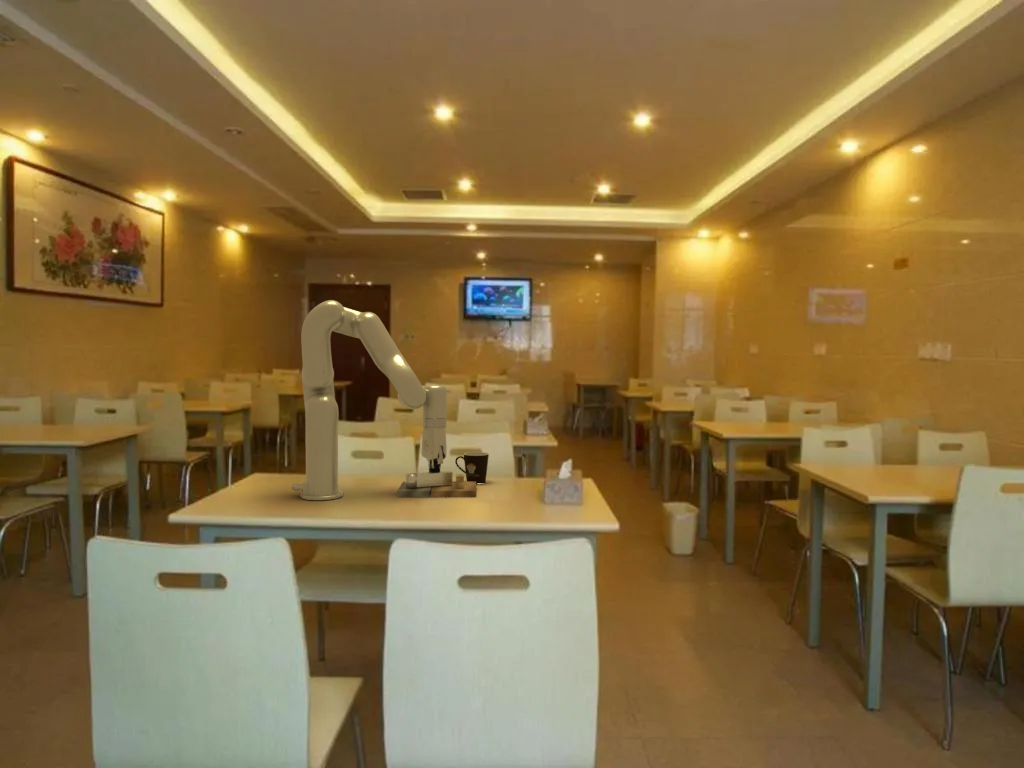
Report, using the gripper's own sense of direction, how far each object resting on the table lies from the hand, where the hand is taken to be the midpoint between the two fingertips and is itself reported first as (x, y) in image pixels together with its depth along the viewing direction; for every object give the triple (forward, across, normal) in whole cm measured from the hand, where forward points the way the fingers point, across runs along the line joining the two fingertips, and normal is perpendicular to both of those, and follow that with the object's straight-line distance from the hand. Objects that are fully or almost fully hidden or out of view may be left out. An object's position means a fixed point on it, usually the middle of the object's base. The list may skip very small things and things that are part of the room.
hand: (434, 480), depth 221 cm
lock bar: (+1, +3, -3) cm, 5 cm away
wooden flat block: (+3, +3, 0) cm, 5 cm away
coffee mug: (+4, -7, +18) cm, 20 cm away
